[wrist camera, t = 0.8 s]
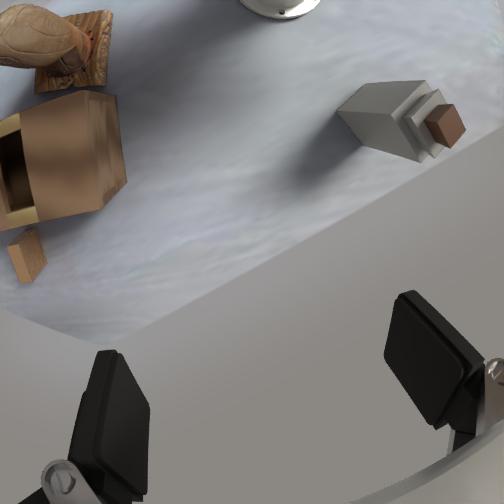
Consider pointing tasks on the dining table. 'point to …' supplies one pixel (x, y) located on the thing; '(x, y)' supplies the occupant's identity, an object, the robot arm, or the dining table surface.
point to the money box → (60, 159)
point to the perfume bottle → (403, 119)
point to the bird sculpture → (56, 45)
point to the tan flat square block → (27, 255)
